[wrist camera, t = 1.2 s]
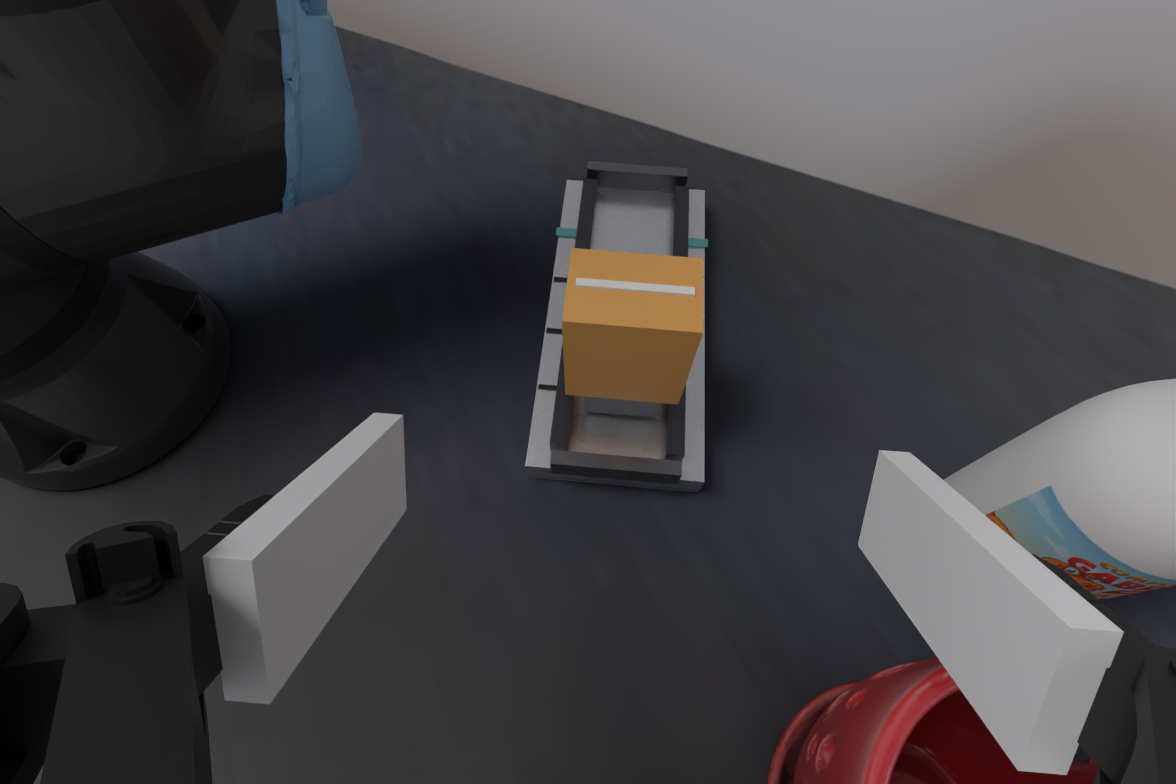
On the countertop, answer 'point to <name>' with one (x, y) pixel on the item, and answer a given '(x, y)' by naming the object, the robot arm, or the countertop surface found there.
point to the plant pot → (900, 736)
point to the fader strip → (559, 423)
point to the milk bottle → (1090, 489)
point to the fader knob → (630, 329)
